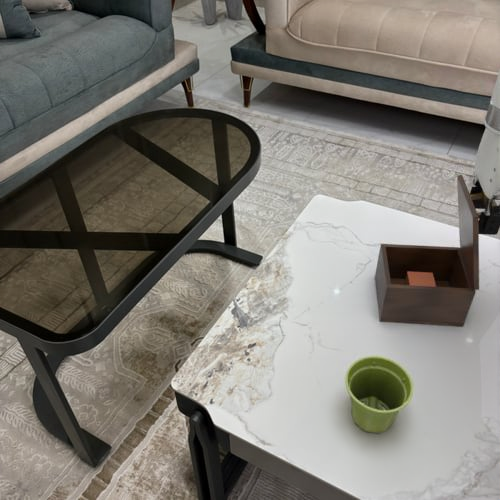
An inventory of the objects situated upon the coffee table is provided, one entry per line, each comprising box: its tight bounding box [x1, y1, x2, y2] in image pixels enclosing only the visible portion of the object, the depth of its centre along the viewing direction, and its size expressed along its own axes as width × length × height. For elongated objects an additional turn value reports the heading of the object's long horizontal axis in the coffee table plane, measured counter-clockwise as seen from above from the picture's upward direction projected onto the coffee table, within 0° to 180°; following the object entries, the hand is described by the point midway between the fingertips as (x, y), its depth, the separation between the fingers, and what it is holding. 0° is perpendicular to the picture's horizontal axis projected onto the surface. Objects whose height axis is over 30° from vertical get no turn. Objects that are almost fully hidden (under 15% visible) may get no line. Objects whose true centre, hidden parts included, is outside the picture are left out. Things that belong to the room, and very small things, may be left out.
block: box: [404, 271, 436, 287], centre depth 92 cm, size 5×5×5 cm
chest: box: [374, 243, 477, 328], centre depth 91 cm, size 15×12×9 cm
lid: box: [456, 174, 498, 291], centre depth 82 cm, size 16×12×5 cm
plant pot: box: [344, 355, 414, 434], centre depth 74 cm, size 9×9×9 cm
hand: (481, 219), depth 81 cm, fingers closed on lid, 6 cm apart
